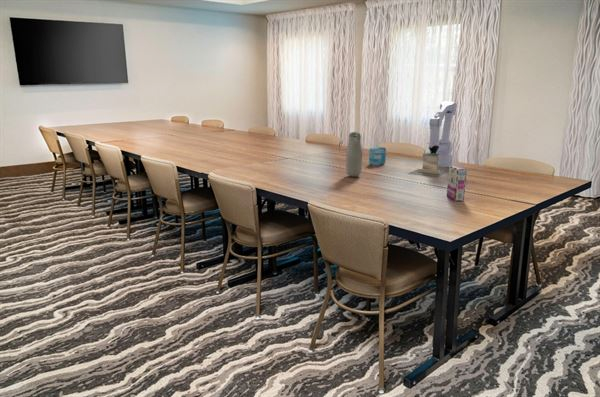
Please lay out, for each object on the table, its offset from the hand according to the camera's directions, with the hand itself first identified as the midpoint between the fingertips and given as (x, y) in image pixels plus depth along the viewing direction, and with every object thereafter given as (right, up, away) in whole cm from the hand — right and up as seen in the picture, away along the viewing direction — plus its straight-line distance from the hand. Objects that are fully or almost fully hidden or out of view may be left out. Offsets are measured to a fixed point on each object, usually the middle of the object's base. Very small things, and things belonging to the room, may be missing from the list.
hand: (433, 157), depth 304 cm
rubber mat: (-5, -11, -4) cm, 12 cm away
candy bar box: (-7, -27, -65) cm, 71 cm away
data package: (-32, -3, +28) cm, 43 cm away
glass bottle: (-53, -13, -11) cm, 56 cm away
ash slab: (-3, -10, -1) cm, 10 cm away
